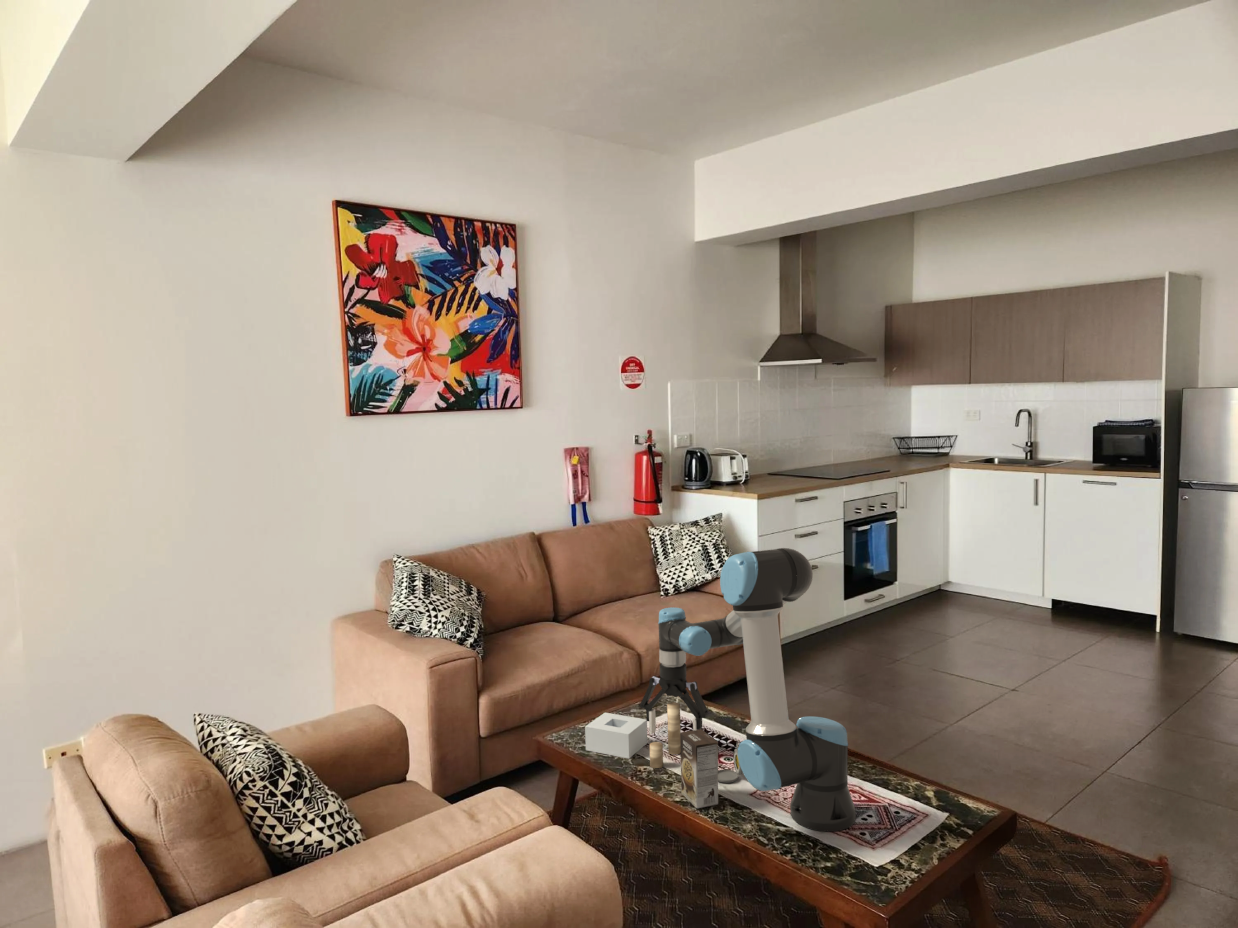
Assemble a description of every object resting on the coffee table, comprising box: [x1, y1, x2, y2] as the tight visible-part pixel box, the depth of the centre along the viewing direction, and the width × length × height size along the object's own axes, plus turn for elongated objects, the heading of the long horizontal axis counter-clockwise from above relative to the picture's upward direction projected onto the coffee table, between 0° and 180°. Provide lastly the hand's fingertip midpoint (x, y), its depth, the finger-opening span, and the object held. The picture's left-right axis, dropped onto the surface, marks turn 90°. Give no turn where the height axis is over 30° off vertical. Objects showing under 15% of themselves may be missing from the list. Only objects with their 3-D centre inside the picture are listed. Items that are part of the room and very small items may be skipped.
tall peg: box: [666, 701, 682, 756], centre depth 240 cm, size 4×4×14 cm
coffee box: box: [680, 728, 719, 809], centre depth 212 cm, size 9×6×16 cm
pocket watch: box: [718, 739, 744, 784], centre depth 223 cm, size 8×8×10 cm
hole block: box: [584, 712, 648, 759], centre depth 245 cm, size 12×14×7 cm
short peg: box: [649, 741, 664, 769], centre depth 232 cm, size 4×4×6 cm
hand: (674, 736), depth 240 cm, fingers open, 13 cm apart
